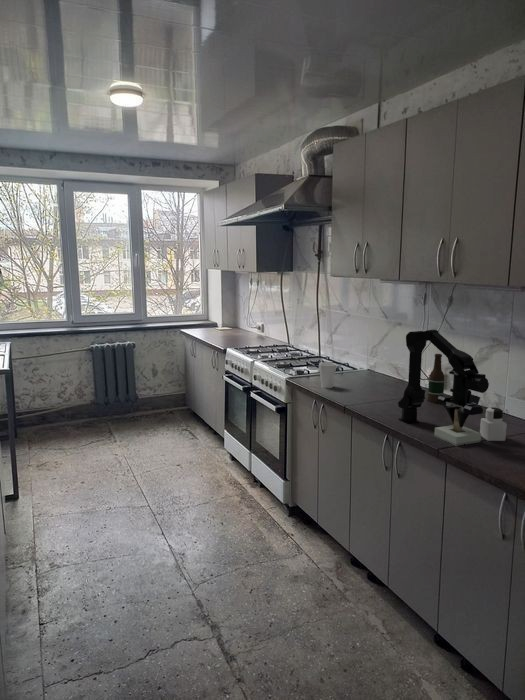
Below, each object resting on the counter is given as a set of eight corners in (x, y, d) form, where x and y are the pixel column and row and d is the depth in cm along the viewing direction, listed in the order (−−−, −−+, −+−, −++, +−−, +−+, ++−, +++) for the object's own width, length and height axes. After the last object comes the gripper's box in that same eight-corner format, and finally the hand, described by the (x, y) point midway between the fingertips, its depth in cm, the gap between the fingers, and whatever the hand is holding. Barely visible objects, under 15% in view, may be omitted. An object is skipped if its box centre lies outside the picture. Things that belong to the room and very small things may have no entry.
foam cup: (331, 384, 290) (331, 361, 288) (338, 388, 282) (339, 364, 279) (315, 385, 287) (316, 362, 285) (322, 389, 279) (323, 366, 276)
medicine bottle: (496, 434, 206) (499, 406, 204) (505, 441, 199) (508, 411, 197) (479, 435, 205) (481, 406, 203) (487, 441, 198) (490, 411, 196)
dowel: (451, 431, 201) (452, 409, 200) (457, 430, 202) (459, 408, 201) (457, 433, 198) (458, 411, 197) (463, 432, 199) (465, 410, 198)
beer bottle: (424, 401, 255) (427, 354, 251) (431, 398, 261) (434, 352, 257) (439, 404, 250) (442, 356, 246) (446, 401, 256) (449, 354, 252)
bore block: (434, 436, 204) (434, 427, 203) (458, 432, 208) (458, 424, 208) (455, 445, 193) (456, 437, 192) (480, 442, 197) (481, 433, 197)
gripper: (495, 390, 192) (492, 430, 194) (459, 380, 209) (456, 417, 211) (472, 393, 187) (469, 434, 190) (437, 382, 205) (435, 419, 207)
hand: (457, 425), depth 200 cm, fingers closed on dowel, 3 cm apart
